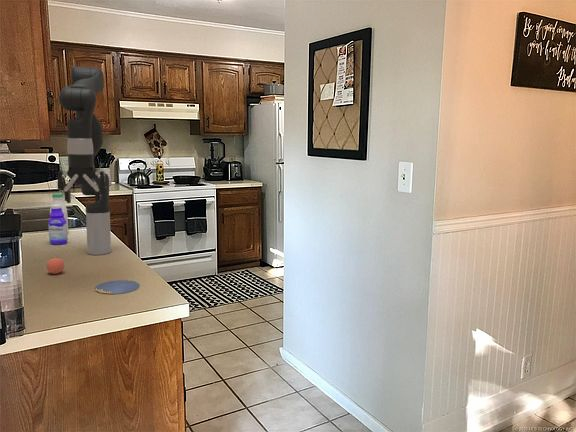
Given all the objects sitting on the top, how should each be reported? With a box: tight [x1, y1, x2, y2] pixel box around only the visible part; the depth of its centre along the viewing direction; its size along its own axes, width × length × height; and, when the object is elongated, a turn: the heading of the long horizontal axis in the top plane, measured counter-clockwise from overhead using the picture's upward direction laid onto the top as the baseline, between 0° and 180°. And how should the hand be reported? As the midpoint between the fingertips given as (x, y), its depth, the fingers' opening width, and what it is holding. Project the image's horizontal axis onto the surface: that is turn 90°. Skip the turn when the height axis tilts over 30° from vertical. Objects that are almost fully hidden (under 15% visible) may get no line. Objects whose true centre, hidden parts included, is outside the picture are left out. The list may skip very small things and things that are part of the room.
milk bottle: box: [49, 193, 69, 235], centre depth 229 cm, size 8×8×20 cm
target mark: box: [93, 279, 141, 295], centre depth 156 cm, size 14×14×1 cm
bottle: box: [47, 204, 68, 246], centre depth 211 cm, size 7×6×17 cm
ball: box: [46, 257, 65, 275], centre depth 169 cm, size 6×6×6 cm
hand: (83, 202), depth 155 cm, fingers open, 8 cm apart
